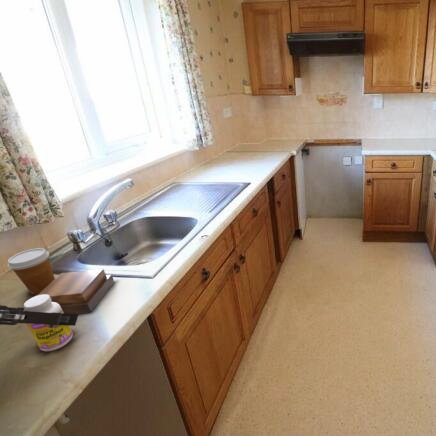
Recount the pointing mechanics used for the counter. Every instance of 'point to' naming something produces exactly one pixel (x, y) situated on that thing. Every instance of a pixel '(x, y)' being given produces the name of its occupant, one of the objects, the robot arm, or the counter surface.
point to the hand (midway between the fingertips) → (62, 318)
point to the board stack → (79, 290)
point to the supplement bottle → (42, 334)
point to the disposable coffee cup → (33, 269)
